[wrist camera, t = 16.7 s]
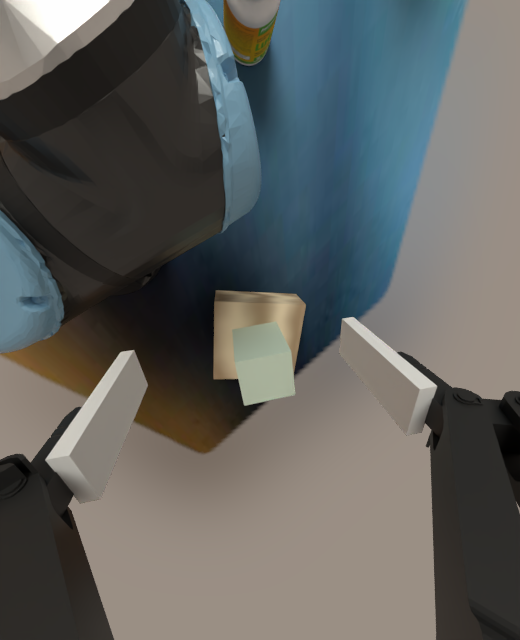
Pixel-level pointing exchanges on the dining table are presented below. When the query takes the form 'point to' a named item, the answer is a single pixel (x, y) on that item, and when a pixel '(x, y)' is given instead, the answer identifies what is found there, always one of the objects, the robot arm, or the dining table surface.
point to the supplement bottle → (249, 28)
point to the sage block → (263, 363)
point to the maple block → (252, 323)
